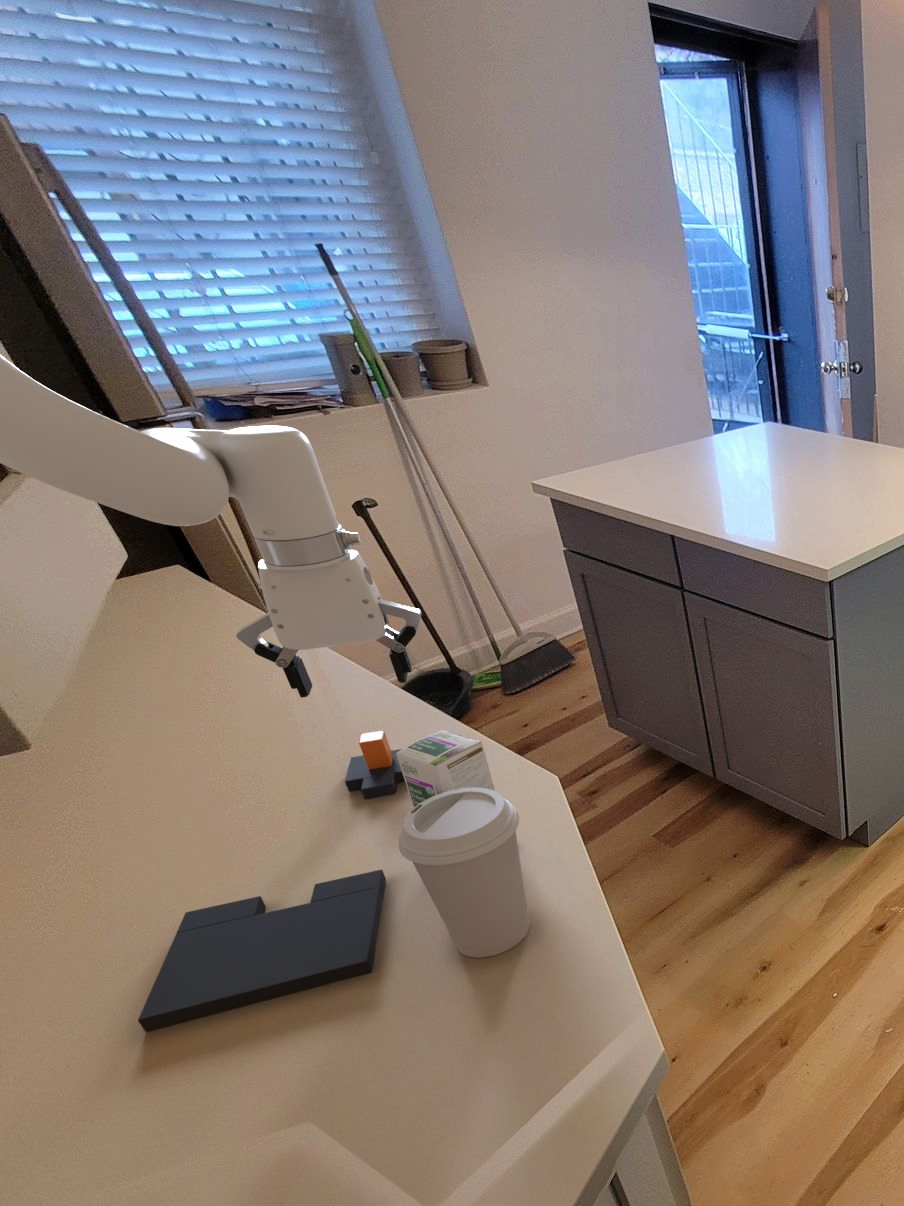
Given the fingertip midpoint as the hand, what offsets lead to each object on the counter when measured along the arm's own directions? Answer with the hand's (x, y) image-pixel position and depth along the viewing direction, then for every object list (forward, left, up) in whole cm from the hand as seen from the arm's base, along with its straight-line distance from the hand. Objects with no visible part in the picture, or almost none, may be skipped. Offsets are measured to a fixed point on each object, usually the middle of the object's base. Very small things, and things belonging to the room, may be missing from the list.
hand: (356, 685), depth 94 cm
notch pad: (-6, -30, -13) cm, 33 cm away
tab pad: (0, -1, -13) cm, 13 cm away
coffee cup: (+12, -36, -13) cm, 40 cm away
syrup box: (+10, -22, -13) cm, 27 cm away
